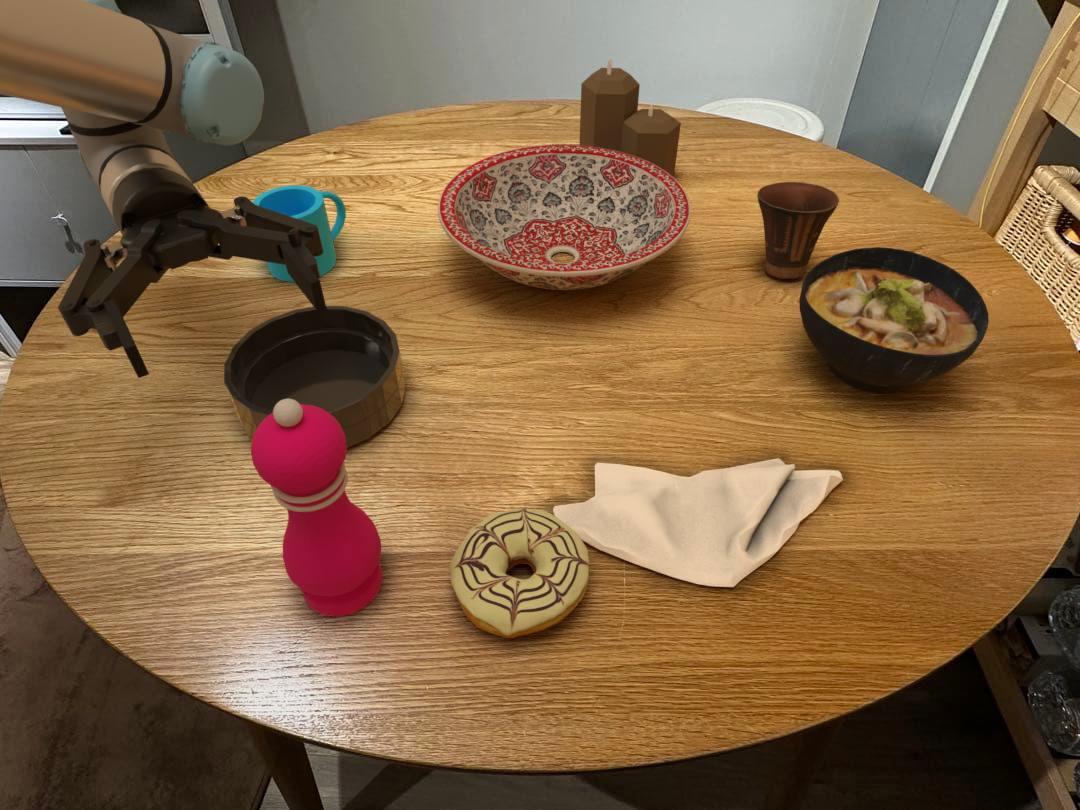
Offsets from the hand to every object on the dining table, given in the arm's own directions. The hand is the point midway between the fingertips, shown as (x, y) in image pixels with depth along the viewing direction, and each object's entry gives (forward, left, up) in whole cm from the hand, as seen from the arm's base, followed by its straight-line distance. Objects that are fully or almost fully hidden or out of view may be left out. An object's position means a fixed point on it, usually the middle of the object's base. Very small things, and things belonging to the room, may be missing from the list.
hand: (232, 328), depth 57 cm
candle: (+60, +29, -18) cm, 69 cm away
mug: (+16, +33, -18) cm, 41 cm away
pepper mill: (0, -13, -18) cm, 22 cm away
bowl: (+56, -19, -18) cm, 62 cm away
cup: (+62, -1, -18) cm, 64 cm away
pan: (+7, +8, -18) cm, 21 cm away
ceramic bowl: (+41, +15, -18) cm, 47 cm away
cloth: (+28, -24, -18) cm, 41 cm away
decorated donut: (+12, -21, -18) cm, 30 cm away
